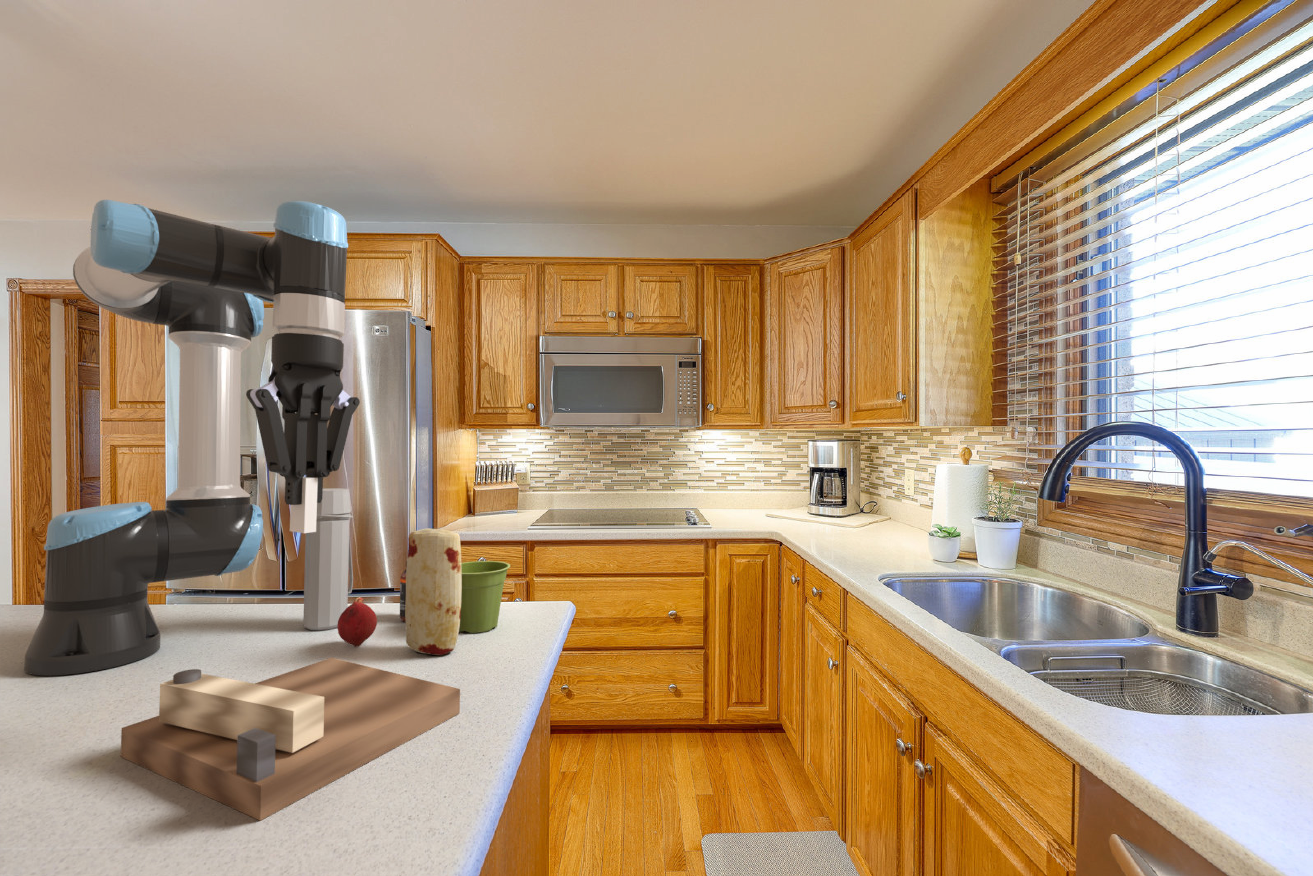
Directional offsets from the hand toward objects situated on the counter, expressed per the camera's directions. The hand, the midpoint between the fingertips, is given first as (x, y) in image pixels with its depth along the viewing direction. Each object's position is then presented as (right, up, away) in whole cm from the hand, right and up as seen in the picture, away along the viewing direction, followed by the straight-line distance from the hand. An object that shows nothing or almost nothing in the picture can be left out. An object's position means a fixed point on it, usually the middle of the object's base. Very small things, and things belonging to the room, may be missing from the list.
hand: (302, 531), depth 72 cm
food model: (+7, -24, +24) cm, 35 cm away
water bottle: (-18, -24, +38) cm, 48 cm away
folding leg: (-1, -19, -10) cm, 21 cm away
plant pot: (+9, -24, +37) cm, 45 cm away
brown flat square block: (+2, -23, -3) cm, 23 cm away
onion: (-7, -23, +26) cm, 36 cm away
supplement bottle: (-4, -24, +43) cm, 49 cm away
